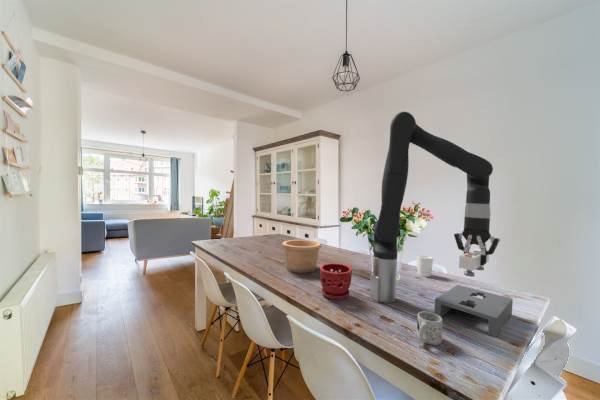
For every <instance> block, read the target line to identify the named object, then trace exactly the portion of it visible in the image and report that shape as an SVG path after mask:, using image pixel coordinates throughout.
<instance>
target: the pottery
mask: <svg viewBox="0 0 600 400" xmlns="http://www.w3.org/2000/svg"><path fill="white" fill-rule="evenodd" d="M281 245H282V247H283V248H284V256H285V267H286V270H287V271H289V272H293V273H299V274H300V273H302V274H304V273H305V274H306V273H311V272H314V271H316V269H317V262H318V258H319V256H318V255H319V250H320V249H321V248H322V243H321V242H318V241H315V240H310V239H290V240H285V241H283V242H282V244H281Z"/></svg>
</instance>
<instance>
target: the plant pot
mask: <svg viewBox="0 0 600 400" xmlns="http://www.w3.org/2000/svg"><path fill="white" fill-rule="evenodd" d="M319 269H320V271H319V275H320V284H321V287H322V288H321V293H322V295H323V296H324V297H326V298H327V299H331V300H344V299H346V298H348V297H349V295H350V291H349V288H350V286H351V285H352V275H353V272H352V271H353V269H352V268H351V267H350V266H348V265H346V264H343V263H334V262H333V263H324V264H323V265H321V266H320V268H319ZM331 270H332V271H331Z"/></svg>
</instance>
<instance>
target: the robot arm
mask: <svg viewBox="0 0 600 400" xmlns="http://www.w3.org/2000/svg"><path fill="white" fill-rule="evenodd" d="M410 144H412V145H414V146H417V147H419V148H421V149H423V150H424V151H426V152H427V153H429V154H431V155H432V156H434V157H435V158H437V159H439V160H441V161H442V162H443V163H445V164H447V165H449V166H451V167H453V168H457V169H459V170H460V171H462V172H463V173H465V174H466V186H467V187H466V194H465V195H466V197H465V207H464V218H463V219H464V221H463V222H464V223H463V230H462V232H460V233H459V232H457V233H453V236H454V239H455V243H456V246H457V248H458V250H459V251H460V250H461V251H462V252H463V254H466V253H468V252H470V250H471V247H472V246H473V245H475V246H476V245H477V246H478V247H479V248H478V249H480V250H481V254H482V255H481V262H480V265H481V266H483V267H485V266H484V265H486V264H487V263H486V261H487V255H489V256H490V255H493V254H494V253H495V250H496V249H497V248H498V244H499V243H500V241H501V239H500V238H498V237H494V236H492V234H491V233H490V229H491V228H490V225H491V190H490V186H489V185H490V184H489V183H490V176H491V175H492V173H493V171H494V167H493V165H492V163H491V162H490V161H488V160H487V159H485V158H483V157H482V156H480V155H476V154H474V153H472V152H470V151H467V150H465V149H464V148H463V147H462V146H461V147H460V146H459V145H457V144H455V143H454V142H451V141H450V140H447V139H445V138H442V137H440V136H436V135H434V134H432V133H430V132H428V131H426V130H424V129H423V128H422V127H421V126H419V125H418V123H417V122H416V119H415V117H414V115H412V114H411V113H410V112H408V111H400V112H398V113H397V114H395V116H393V118H392V120H391V122H390V129H389V145H388V150H387V155H386V160H385V164H384V169H383V175H382V181H381V205H380V206H381V207H380V212H379V215H378V219H377V221H376V222H375V224H374V227H373V258H372V259H373V262H372V264H373V265H372V273H370V288H369V297H371V298H372V299H373V300H375V302H377V303H380V302H381V303H389V304H391V303H394V302H396V294H397V292H396V291H397V267H398V265H397V264H398V247H397V245H398V244H397V243H398V237H399V234H400V223H401V222H400V221H401V220H400V219H401V208H402V206H403V205H402V204H403V200H404V196H405V194H406V193H405V191H406V187H407V184H408V183H407V182H408V176H409V175H408V174H409V150H410ZM463 238H464V240H465V241H466V242H465V244H464V243H463V240H462V239H463ZM489 240H490V243H491V245H490V247H489V249H488V250H487V244H486V243H487V242H488V241H489Z"/></svg>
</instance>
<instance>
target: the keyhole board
mask: <svg viewBox="0 0 600 400" xmlns="http://www.w3.org/2000/svg"><path fill="white" fill-rule="evenodd" d="M478 296H479V297H478ZM480 297H482V298H480ZM513 302H514V301H513V297H511V298H510V297H507V296H505V295H500V294H496V293H492V292H488V291H483V290H479V289H475V288H471V287H468V286H464V285H461V284H457V285H455V286H453V287H452V288H451V289H449V290H447V291H445V292H444V293H442V294H441V295H439V296H437V297H436V298H435V299H434V310H433V311H434V312H433V313H434V314H437V315H439V316H440V317H441V318H442V316H444V315H446V314H447V313H448V312H449V311H451V310H452V309H455V310H459V311H461V312H465V313H467V314H471V315H474V316H477V317H479V318H484V319H485V320H488V326H487V327H488V328H487V335H488V336H490V337H494V338H497V336H498V335H499V334H500V332H501V331H502V330H503V328H504V327H505V325H506V324H507V323H508V321H509V319H510V318H511V317H512V316H513V315H512V314H513ZM468 304H470V305H472V306H473V307H470V306H467V305H468Z"/></svg>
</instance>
